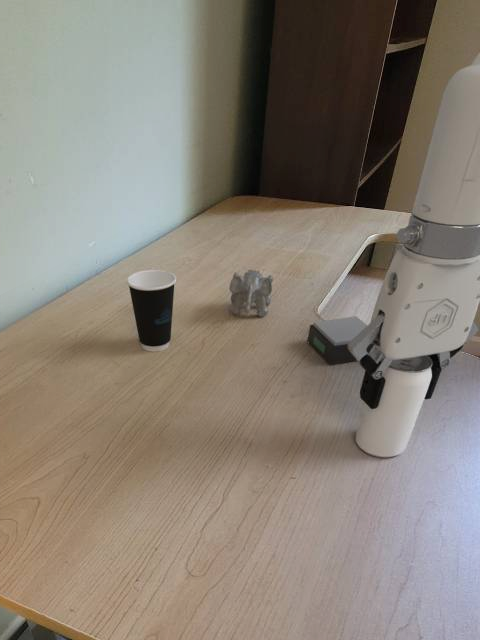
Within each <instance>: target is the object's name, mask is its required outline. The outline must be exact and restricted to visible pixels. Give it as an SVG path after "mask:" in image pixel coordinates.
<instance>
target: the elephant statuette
mask: <svg viewBox="0 0 480 640" xmlns="http://www.w3.org/2000/svg"><path fill="white" fill-rule="evenodd" d="M273 282H274V277H273V275H272V274H269V275H268V276H264V277H263V274H262V272H260V270H259V269H258V270H257V269H248V270H247V271H246V272H244V274H243V276H242V275H240V274H239V273H238V272H235V273H234V274H233V275H232V279H231V280H230V282H229V291H230V293H231V295H230V302H231V303H232V305H230V306H229V312H230V313H231V314H233V315H235V316H237V315H240V313H241V309H242V306H243V305H244V304H245V307H244V313H245V314H246V315H248V314H250V311H251V304H253V303H254V305H255V307H256V314H257V316H258V317H260V318H264V317H265V316H267V315H268V314H269V308H268V307H269V306H270V305H271V302H272V297H271V294H272V291H273Z"/></svg>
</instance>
